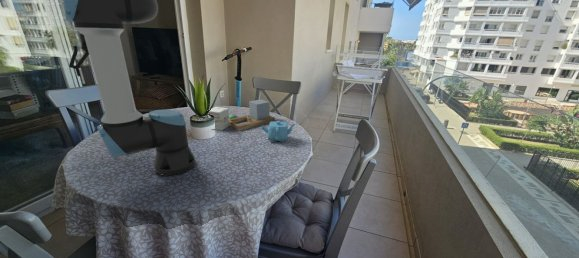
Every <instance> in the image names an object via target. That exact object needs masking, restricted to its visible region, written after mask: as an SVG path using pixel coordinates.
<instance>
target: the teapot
mask: <svg viewBox="0 0 579 258" xmlns="http://www.w3.org/2000/svg"><path fill="white" fill-rule="evenodd" d="M268 124H269V125H268V128H267V127H266V126H265V125H261V127H260V128H261V129H262V130H263V131H264V132H266V133H267V138H268V141H270V142H271V143H275V142H280V143H285V142H286V141H287V140H288V135H290V134H291V133H292V131H293V128H294V126H295V125H296V123H291V124H290V126H289V128H288V122H287V121H280V120H275V122H270V123H268Z"/></svg>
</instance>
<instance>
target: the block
mask: <svg viewBox="0 0 579 258" xmlns="http://www.w3.org/2000/svg"><path fill="white" fill-rule="evenodd" d="M248 102H249V103H248V104H249V105H248V106H249V115H250V118H252V119H254V120H256V121H258V120H262V119H266V118H269V115H270V102H269V101H267V100H264V99H256V100H251V101H248Z"/></svg>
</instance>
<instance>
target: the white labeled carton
mask: <svg viewBox="0 0 579 258" xmlns="http://www.w3.org/2000/svg"><path fill="white" fill-rule="evenodd" d="M210 109H211V110H210ZM210 109H209V110H210V111H209V114H210V115H213V116H214V119H215V128H216V130H217V131H223V130H224V129H227V128H228V127H230V125H229V115H230V114H229V113H230V111H229V108H226V107H220V106H215V107H212V108H210Z"/></svg>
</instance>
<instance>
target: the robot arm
mask: <svg viewBox="0 0 579 258" xmlns="http://www.w3.org/2000/svg"><path fill="white" fill-rule="evenodd" d="M62 3H63V10H64V15H65V20H66V21H67V22H69V23H73V25H74V29H75V30H77V31H78V32H79V33H80V34H79V39H80V42H81V45H77V44H73V51H72V55H71V58H70V60H69V63H68V67H69V68H70V69H74V70H75V73H76V76H77V77H80V78H81V82H82V84H83V85H85V84H86V81H85V78H84V74H83V71H82V68H81V66H82V65H83V63H84V62H85V60H86V59H87V57H88V56H89V59H90V62H91V66H92V69H93V73H94V77H95V81H96V84H97V89H98V92H99V96H100V99H101V102H102V103H101V104H102V107H103V110H104V115H103V116H102V118H101V119H100V121H101V124H99V125H97V126H96V127H97V130H98V132H99V134H100V137H101V138H102V139H101V140H102V141H103V144H104V145H105V147H106V150H107V152H108V153H109V155H110V156H111V157H114V158H119V157H123V156H129V155H133V154H136V153H140V152H144V151H149V150H152V149H155V158H154V163H153V168H154V172H155V171H156V172H157V173H159V174H158V175H160V174H163V175H162V176H164V175H172V176H175V175H174V174H178V175H180V174H179V173H181V174H184V173H186V171H187V172H189V171H190V170H191V169H193V168H194V167H195V166H196V158H195V155H194V153H193V152H192V149H191V148H190V146H189V141H188V135H187V133H188V131H187V127H186V126H187V123H186V120H185V116H184V114H183V112H181V111H177V110H173V109H155V110H153V111H152V110H151V111H150V112H149V113H148V116H146V117H143V113H141V112H140V111H138V110H137V108H136V104H135V99H134V95H133V91H132V90H133V89H132V84H131V81H130V77H129V72H128V71H129V70H128V67H127V63H126V59H125V54H124V49H123V46H122V45H123V44H122V41H121V40H122V39H121V34H122V33H123V32H124V31H125V25H124V24H128V25H129V24H134V25H135V24H143V23H148V22H151V21H153V20H154V19H155V18H156V17H157V15H158V13H159V4H158V1H157V0H62ZM81 49H82V50H83V51H84V53H83V54H82V56H81V57H80V58H79V60H78V62H77V63H76V64H75V61H76V59H77V55H78V52H79V51H81ZM74 64H75V65H74ZM194 165H195V166H194ZM156 172H155V173H156ZM183 172H184V173H183ZM157 173H156V174H157Z"/></svg>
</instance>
